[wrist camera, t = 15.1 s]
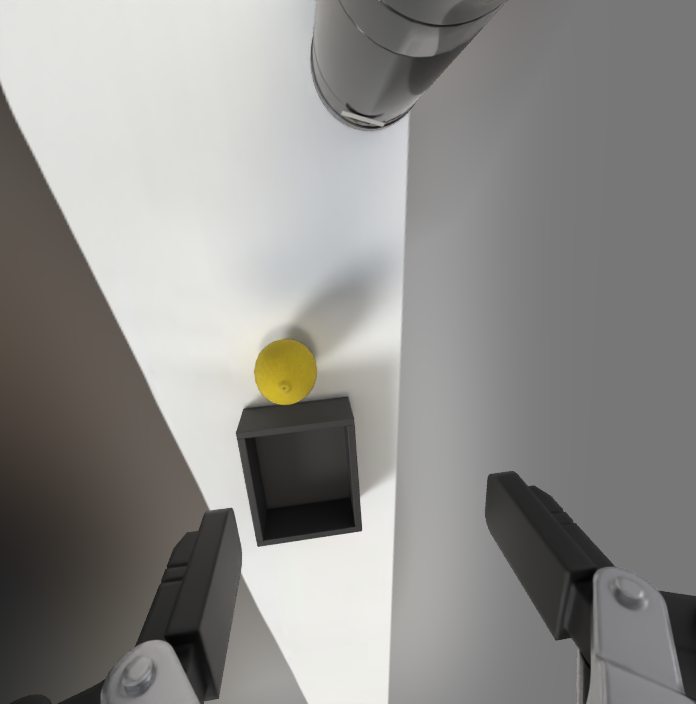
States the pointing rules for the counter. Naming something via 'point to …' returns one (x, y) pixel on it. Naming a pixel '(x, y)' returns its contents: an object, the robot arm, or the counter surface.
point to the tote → (300, 470)
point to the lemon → (285, 372)
